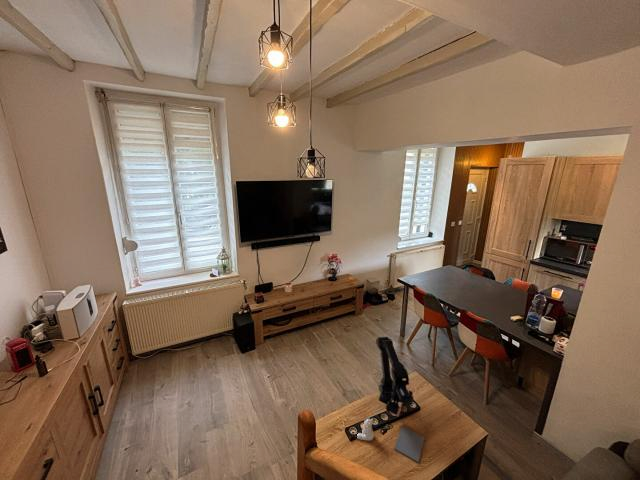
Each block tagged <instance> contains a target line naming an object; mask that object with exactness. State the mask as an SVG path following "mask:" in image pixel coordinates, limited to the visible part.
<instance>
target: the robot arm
mask: <svg viewBox="0 0 640 480" xmlns="http://www.w3.org/2000/svg"><path fill="white" fill-rule="evenodd" d="M375 343H376V347H377V349H378V350H379V351H380V358H381V359H380V360H381V361H380V362H381V369H382V372H381V373H382V378H381V380H380V384H379V385H378V390H379V393H380V394H379V398H378V401H380V402H382V403H383V404H386V405H385V409H386V411H388V412H389V413H390V412H392V413H394V414H397V413H398V411H399V408H400V407H399V404H398V402H400V403H402V404H404V405H405V406H406V407H407V408H410V407H411V406H412V404H413V402H414V396H413V395H414V394H413V393H414V392H413V391H411V390H408V388H407V386H409V385H410V378H409V374H408V371H407V369H406V367H405V365H404V364H403V363H402V362H401V361H400V359H399V357H398V355H397V352H396V349H395V347H394V342H393V340H392V338H389V337H388V336H380V337H377V338H376V339H375ZM390 364H391V365H390ZM390 367H391V369H390ZM392 400H393V401H394V402H392ZM396 401H397V402H396ZM392 413H391V414H392ZM394 414H393V415H394Z"/></svg>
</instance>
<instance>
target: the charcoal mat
mask: <svg viewBox="0 0 640 480" xmlns="http://www.w3.org/2000/svg"><path fill="white" fill-rule="evenodd" d="M397 436H398V437H397V439H396V442H395V445H394V448H393V450H394V451H396V452H398V453H399V454H401V455H403V456H405V457H406V458H408V459H410V460H412V461H414V462H415V463H417V464H419V462H420V457H421V454H422V451H423V450H422V449H423V446H424V442H425V437H424V436H422V435H420V434H418V433H417V432H414V431H412V430H410V429H409V428H406V427H405V426H403V425H401V428H400V431H399V434H398V435H397Z"/></svg>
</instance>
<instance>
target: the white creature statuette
mask: <svg viewBox="0 0 640 480" xmlns="http://www.w3.org/2000/svg"><path fill="white" fill-rule="evenodd" d="M373 422H374V419H373V418H371V419H370V418H366V419H364V422H363V423H364V424H363V423H362V424H363V426H364V427H362V430H361V431H362V433H361V432H357V433H358V434H357V433H356V434H357V438H356V439H357V440H362V441H368V442H369V441H373V439H374V438H375V436H374V435H375V434H374V433H375V432H374V430H373V427H372V426H373Z"/></svg>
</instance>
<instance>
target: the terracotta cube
mask: <svg viewBox="0 0 640 480" xmlns="http://www.w3.org/2000/svg"><path fill="white" fill-rule="evenodd" d="M391 402H394V401H393V400H392V401H391ZM396 402H397V401H396ZM398 404H399V407H400V408H399V411H398V413H397V414H394V413H392V412H390V411H389V413H390V414H391V415H394V416H396V417H399V416H400V414H401V411H402V404H403V403H402V402H401V403H400V402H398Z"/></svg>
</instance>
